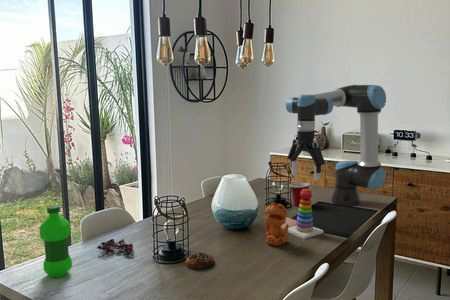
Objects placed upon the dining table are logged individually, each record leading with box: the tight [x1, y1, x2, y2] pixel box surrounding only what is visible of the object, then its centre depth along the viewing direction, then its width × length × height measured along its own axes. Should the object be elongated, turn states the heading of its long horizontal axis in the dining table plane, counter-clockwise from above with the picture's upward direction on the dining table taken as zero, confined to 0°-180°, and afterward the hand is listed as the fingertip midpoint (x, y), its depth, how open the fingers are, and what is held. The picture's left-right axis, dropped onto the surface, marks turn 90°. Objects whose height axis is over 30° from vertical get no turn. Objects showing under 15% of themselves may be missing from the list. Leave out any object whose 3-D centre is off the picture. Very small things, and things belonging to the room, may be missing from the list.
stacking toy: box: [295, 188, 314, 232], centre depth 193 cm, size 8×8×19 cm
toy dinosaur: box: [263, 201, 289, 246], centre depth 181 cm, size 11×11×18 cm
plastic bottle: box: [39, 204, 73, 278], centre depth 153 cm, size 10×10×25 cm
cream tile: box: [287, 226, 324, 240], centre depth 195 cm, size 12×12×1 cm
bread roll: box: [185, 251, 215, 270], centre depth 163 cm, size 11×11×5 cm
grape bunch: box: [96, 238, 135, 256], centre depth 175 cm, size 15×14×5 cm
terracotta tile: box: [264, 216, 297, 231], centre depth 205 cm, size 12×12×1 cm
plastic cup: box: [289, 182, 311, 208], centre depth 235 cm, size 11×11×12 cm
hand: (305, 177), depth 193 cm, fingers open, 13 cm apart
